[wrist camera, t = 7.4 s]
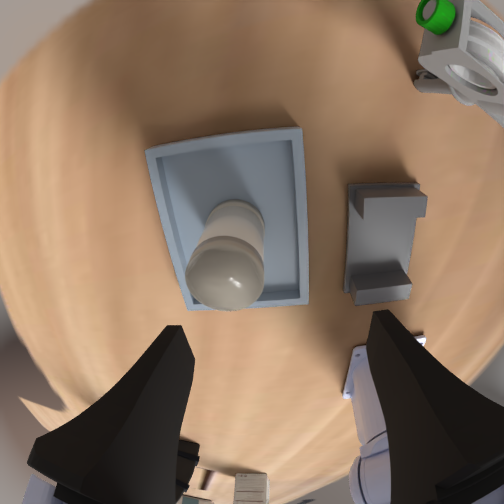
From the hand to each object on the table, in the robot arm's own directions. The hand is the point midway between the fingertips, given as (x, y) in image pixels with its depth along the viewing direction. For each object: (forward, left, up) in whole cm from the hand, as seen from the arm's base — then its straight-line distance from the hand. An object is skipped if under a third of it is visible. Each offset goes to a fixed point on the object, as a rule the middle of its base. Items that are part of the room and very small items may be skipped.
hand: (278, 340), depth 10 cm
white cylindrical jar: (+1, +2, -9) cm, 10 cm away
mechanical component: (+10, -11, -10) cm, 18 cm away
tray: (0, +2, -10) cm, 10 cm away
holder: (-2, -8, -10) cm, 12 cm away
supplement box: (-63, +8, -10) cm, 64 cm away
